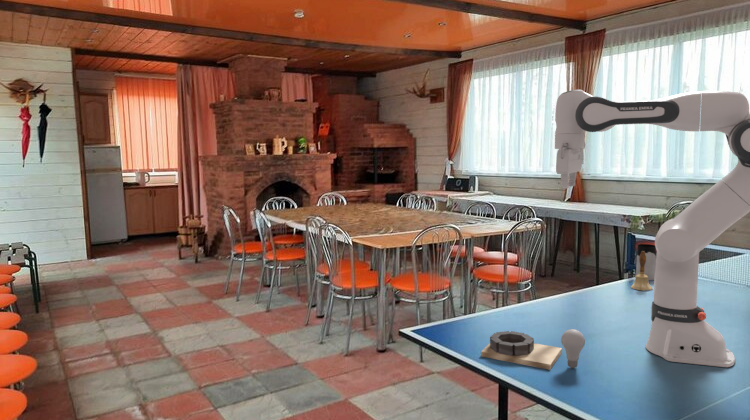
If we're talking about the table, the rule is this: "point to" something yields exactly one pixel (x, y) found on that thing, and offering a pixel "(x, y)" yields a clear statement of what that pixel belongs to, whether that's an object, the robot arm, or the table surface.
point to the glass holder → (647, 260)
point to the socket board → (532, 359)
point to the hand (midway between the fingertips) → (568, 187)
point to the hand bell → (642, 276)
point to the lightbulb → (573, 346)
